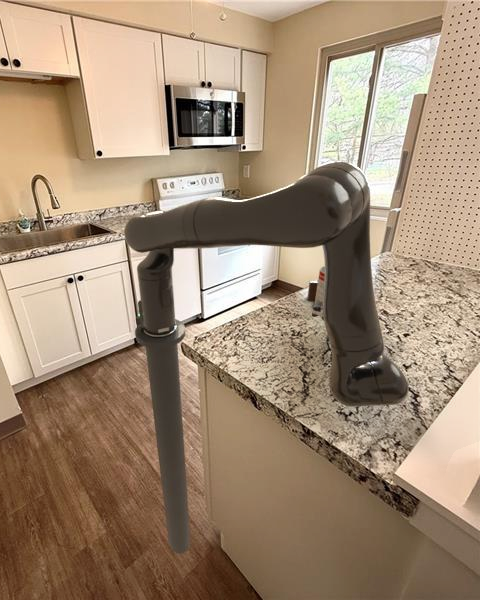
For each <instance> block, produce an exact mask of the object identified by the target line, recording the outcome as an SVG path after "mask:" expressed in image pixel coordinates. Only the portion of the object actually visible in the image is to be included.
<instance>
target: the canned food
mask: <svg viewBox="0 0 480 600" xmlns="http://www.w3.org/2000/svg"><path fill="white" fill-rule="evenodd" d="M324 279H325V265H324V266H322V267H320V268H319V274H318V280H317V281H318V285H317V292H316V298H315V301H314V305H316V304H318V303H321V302H323V291H324Z"/></svg>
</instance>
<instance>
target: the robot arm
mask: <svg viewBox="0 0 480 600" xmlns="http://www.w3.org/2000/svg"><path fill="white" fill-rule="evenodd" d="M123 234H124V239H125V242H126V244H127V246H129V248H130V249H131V250H133V251H134V252H136V253H139V254H145V253H148V254H147V255H146V256H145V258H143V259H142V260H141V261H140V262H139V263H138V264H137V267H136V275H137V282H138V291H139V299H140V300H138V301H137V307H138V315H137V316H136V317H135V324H136V325H137V326H138V325H141V331H142V332H144V333H145V334H146V335H147V336H149V337H153V338H164V337H168V336H170V335H172V334H173V333H174V332H175V331H176V322H175V319H176V310H175V293H174V281H173V280H174V279H173V266H174V261H175V249H179V250H181V249H182V250H183V249H187V250H189V249H191V250H192V249H198V250H199V249H200V250H201V249H202V250H203V249H217V248H228V247H244V246H267V247H282V248H293V249H294V248H295V249H297V248H298V249H310V248H311V249H313V248H318V247H321V246H322V252H323V258H324V266H325V279H324V291H323V302H321V303H318V304H316V305H315V304H314V305H313V306H312V309H311V317H313V318H317V317H318V316H319V317H321V320H322V321H323V322H324V327H325V330H326V333H327V334H326V335H327V339H328V341H329V344H330V350H331V365H330V371H329V389H330V392H331V394H332V396H333V398H334V399H335V400H336V401H337V402H338V403H340V404H341V405H343V406H345V407H351V408H352V407H353V408H354V407H355V408H357V407H375V406H376V407H377V406H378V407H379V406H394V405H399V404H402V403H403V402H404V401H405V400H406V399H407V398H408V395H409V383H408V379H407V377H406V375H405V374H404V372H403V371H402V370H401V369H400V367H399V366H398V365H397V363H395V362H394V361H393V360H391V358H389V357H388V356H387V355H386V354H384V352H385V341H384V337H383V332H382V327H381V322H380V318H379V312H378V309H377V303H376V297H375V296H376V295H375V291H374V290H375V289H374V282H373V272H372V257H371V256H372V255H371V253H372V252H371V189H370V184H369V181H368V179H367V177H366V175H365V173H364V172H363V171H362V170H361V169H360V168H359V167H358V166H356V165H354V164H352V163H350V162H347V161H338V160H335V161H330V162H326V163H323V164H321V165H319V166H317V167H315V168H314V169H312V170H311V171H309V172H307V173H306V174H304V175H303V176H301V177H300V178H298V179H296V180H295V181H293V182H292V183H290V184H288V185H286V186H283V187H281V188H279V189H277V190H274V191H271V192H268V193H266V194H261V195H259V196H256V197H251V198H247V199H236V198H233V197H229V196H225V195H218V196H217V195H216V196H211V197H206V198H201V199H198V200H194V201H191V202H188V203H185V204H182V205H180V206H176V207H174V208H172V209H169V210H166V211H163V210H154V211H150V212H145V213H141V214H137V215H134V216H132V217H130V218H129V219H128V220H127V222H126V224H125V227H124V230H123Z"/></svg>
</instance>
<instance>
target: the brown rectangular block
mask: <svg viewBox="0 0 480 600" xmlns="http://www.w3.org/2000/svg"><path fill="white" fill-rule="evenodd" d="M308 283H309V284H308V288H307V289H308V290H307V297H306V299H307V301H309V302H315V298H316V292H317V285H318V280H312V279H311V280H309V282H308Z"/></svg>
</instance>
